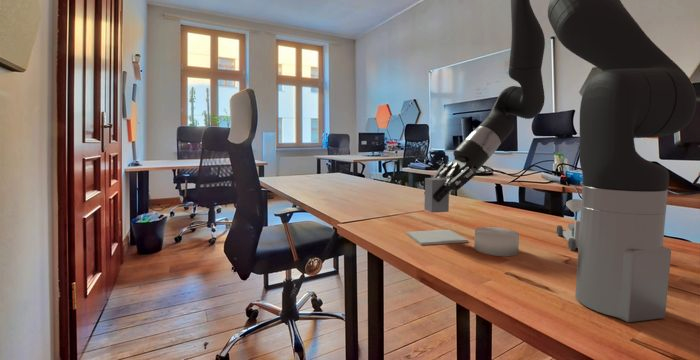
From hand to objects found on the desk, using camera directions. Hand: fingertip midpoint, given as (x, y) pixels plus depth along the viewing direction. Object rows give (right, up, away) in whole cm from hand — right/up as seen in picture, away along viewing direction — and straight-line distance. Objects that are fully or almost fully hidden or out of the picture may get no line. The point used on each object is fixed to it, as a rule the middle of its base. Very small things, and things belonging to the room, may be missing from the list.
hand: (431, 197), depth 82 cm
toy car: (+37, -11, -4) cm, 39 cm away
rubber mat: (+1, -10, +1) cm, 10 cm away
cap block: (+1, -3, +1) cm, 4 cm away
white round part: (+12, -11, -8) cm, 19 cm away
